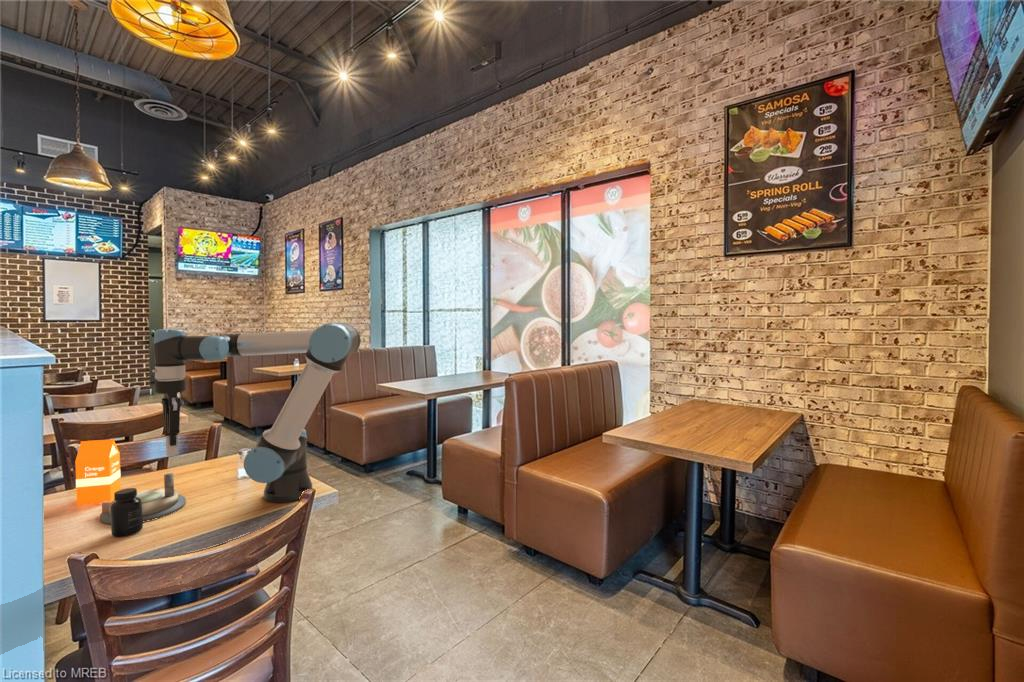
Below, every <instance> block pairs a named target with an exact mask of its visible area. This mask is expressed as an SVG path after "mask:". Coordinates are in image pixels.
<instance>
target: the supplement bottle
mask: <svg viewBox="0 0 1024 682" xmlns="http://www.w3.org/2000/svg"><path fill="white" fill-rule="evenodd" d="M136 489H137V488H135V487H129V488H127V487H126V488H123V489H122V488H121V490H119V491H116V492H115V493H114V500H116V501H115V502H113V503H112V504H111V506H110V515H111V525H110V527H111V528H110V529H111V530H110V531H111V536H112V537H115V538H123V537H124V538H125V537H129V536H132V535H135V534H138V533H139V532H141V531H140V530H141V529H142V530H143V527H144V525H143V523H144V522H143V518H142V500H141V499H140V498H139V497H136V496H137V492H138V489H137V490H136Z"/></svg>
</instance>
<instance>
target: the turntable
mask: <svg viewBox="0 0 1024 682" xmlns="http://www.w3.org/2000/svg"><path fill="white" fill-rule="evenodd" d="M174 476H175V474H174V473H173V472H171V473H170V472H169V473H165V474H164V475H163V478H164V479H163V480H164V481H163V482H164V484H163V485H164V488H163V487H161V488H151V489H145V490H139V491H138V489H137V488H136V490H137V496H136V497H139V498H140V499H141V500H142V516H144V515H149V514H153V513H156V512H159V511H162V510H165V509H167V508H169V507H171V506H173V505H175V504H176V503H177V502H178V495H179V492H178V490H176V489H175V482H174V481H175V479H174V478H175V477H174ZM115 501H116V500H113V501H111V502H110V503H109V505H108V508H109V515H110V506H111V504H112V503H113V502H115ZM110 516H111V515H110Z"/></svg>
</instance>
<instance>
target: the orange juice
mask: <svg viewBox="0 0 1024 682" xmlns="http://www.w3.org/2000/svg"><path fill="white" fill-rule="evenodd" d="M120 454H121V452H120V451H119V448H118V446H117V444H116V442H115V440H114V438H111V439H97V440H96V439H95V440H93V439H92V440H82V441H81V440H80V444H79V448H78V452H77V455H76V458H75V463H74V465H75V488H76V492H75V493H76V506H77V505H78V506H85V505H84V504H88V505H94V504H95V503H97V504H102V502H104V501H110V502H112V500H113V499H114V493H115V492H116V491H119V490H122V485H121V476H122V475H121V455H120Z"/></svg>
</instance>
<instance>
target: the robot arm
mask: <svg viewBox="0 0 1024 682" xmlns="http://www.w3.org/2000/svg"><path fill="white" fill-rule="evenodd" d="M185 333H186V332H185V330H183V329H181V328H179V329H178V328H174V329H172V328H169V329H168V328H167V329H165V328H163V329H157V330H155V331H154V333H153V334H154V336H153V342H152V343H153V352H154V353H153V354H154V369H152V370H151V371H152V373H153V374H154V379H155V381H154V392H155V393H156V394H159V395H163V398H161V405H162V413H163V414H162V415H163V430H164V432H165V433H164V437H165V454H166V456H167V457H174V456H179V436H178V435H179V434H180V421H181V418H180V417H181V416H180V414H181V413H180V411H181V405H182V404H181V398H180V397H178V394H179V393H183V392H185V391H186V390H187V389H186V383H187V382H186V379H185V378H186V361H208V362H213V361H214V362H215V361H223V360H224V359H226V358H230V357H245V356H265V355H266V356H267V355H283V354H284V355H287V354H302V353H303V354H304V353H305V354H304V358H305V360H306V364H305V366H304V368H303V369H302V371H301V373H300V375H299V376H298V378H297V380H296V382H295V384H294V386H293V387H292V389H291V390H290V391H291V392H290V393H289V395H288V397H287V399H286V400H285V403H284V405H283V406H282V408H281V410H280V412H279V413H278V415H277V418H276V419H275V421H274V423H273V424H272V426H271V428H269V429H265V430H264V431H263V432H262V435H260V438H259V440H258V442H257V443H256V445H255V447H253V448H252V449H251V450H249V451H248V452H247V454H246V455H245V457H244V458H243V459H244V460H243V469H244V471H245V474H246V475H247V477H248V478H249V479H251V480H253V481H254V482H256V483H259V484H265V487H264V490H263V499H264V501H267V502H270V503H276V504H277V503H290V502H294V501H298V499H299V497H300V496H301V494H302V492H303V491H305V490H307V489H312V490H313V482H312V480H311V478H310V475H309V472H308V466H307V465H308V461H307V460H308V458H307V457H308V451H307V450H308V444H307V443H308V442H307V441H308V436H307V429H305V428H306V426H307V424H308V422H309V420H310V418H311V416H312V415H313V412H314V411H315V409H316V407H317V405H318V404H319V401H320V400H321V398H322V396H323V394H324V392H325V390H326V388H327V387H328V385H329V383H330V381H331V379H332V378H333V376H334V374H337V373H340V372H341V371H342V369H343V367H344V366H345V364H346V362H347V360H348V358H349V357H350V356H353V355H354V354H356V352H357V351H358V350H359V348H360V345H361V341H362V340H361V335H360V332H359V331H358V329H357V328H356V327H355V326H353V325H352V324H350V323H346V322H345V323H344V322H329V323H324V324H323V325H322V324H321V326H318V327H317V328H316V329H312V330H310V329H309V330H291V331H290V330H288V331H272V332H271V331H269V332H249V333H226V334H215V335H212V334H211V335H186V334H185ZM299 500H300V499H299Z"/></svg>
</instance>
